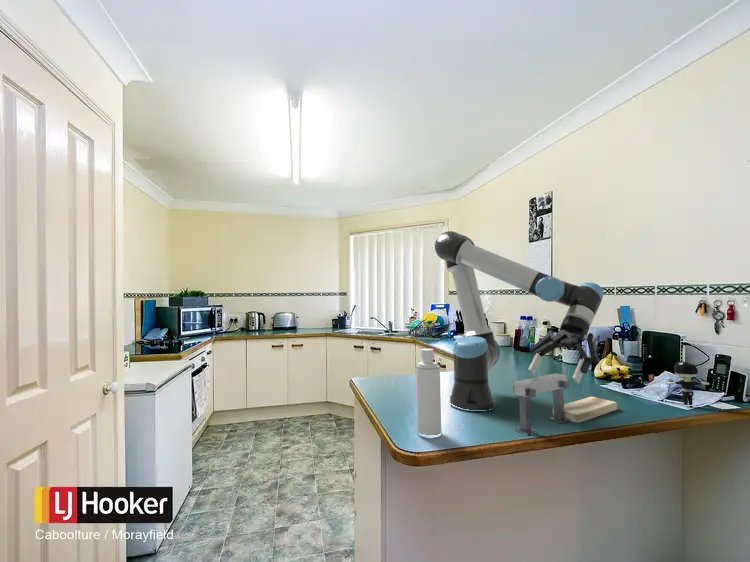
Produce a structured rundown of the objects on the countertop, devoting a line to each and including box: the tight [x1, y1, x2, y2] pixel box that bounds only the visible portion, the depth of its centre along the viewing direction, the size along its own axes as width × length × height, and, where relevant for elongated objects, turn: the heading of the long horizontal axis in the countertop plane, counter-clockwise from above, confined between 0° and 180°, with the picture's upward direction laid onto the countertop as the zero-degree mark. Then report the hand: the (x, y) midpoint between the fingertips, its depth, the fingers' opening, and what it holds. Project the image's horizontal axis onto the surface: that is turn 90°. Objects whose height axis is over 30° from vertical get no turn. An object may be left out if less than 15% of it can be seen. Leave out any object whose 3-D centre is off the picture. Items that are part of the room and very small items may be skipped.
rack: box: [512, 380, 570, 436], centre depth 99 cm, size 6×20×12 cm, turn 120°
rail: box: [513, 372, 568, 397], centre depth 99 cm, size 4×20×4 cm, turn 120°
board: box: [552, 396, 618, 424], centre depth 110 cm, size 8×23×2 cm, turn 120°
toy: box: [664, 360, 710, 406], centre depth 115 cm, size 13×6×15 cm, turn 84°
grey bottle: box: [415, 348, 442, 435], centre depth 95 cm, size 7×7×25 cm
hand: (551, 376), depth 100 cm, fingers open, 13 cm apart
